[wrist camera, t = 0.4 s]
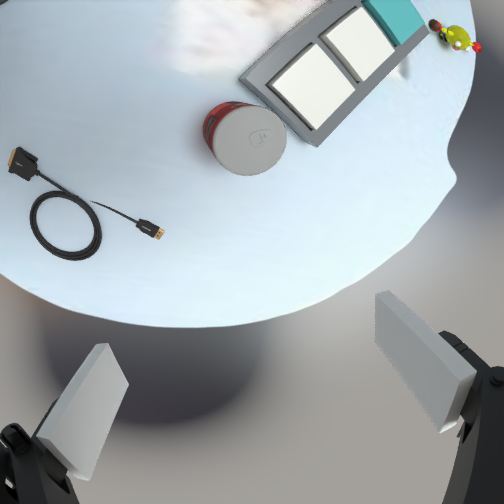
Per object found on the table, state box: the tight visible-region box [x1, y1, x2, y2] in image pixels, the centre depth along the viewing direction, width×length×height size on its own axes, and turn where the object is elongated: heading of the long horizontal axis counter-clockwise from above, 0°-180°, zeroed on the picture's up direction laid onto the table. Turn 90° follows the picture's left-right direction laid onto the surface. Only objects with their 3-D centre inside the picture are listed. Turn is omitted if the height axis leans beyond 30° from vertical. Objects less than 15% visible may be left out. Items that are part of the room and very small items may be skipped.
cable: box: [8, 147, 164, 261], centre depth 37 cm, size 14×28×2 cm, turn 50°
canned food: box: [203, 102, 287, 176], centre depth 32 cm, size 8×8×11 cm
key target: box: [361, 0, 425, 45], centre depth 27 cm, size 8×8×4 cm
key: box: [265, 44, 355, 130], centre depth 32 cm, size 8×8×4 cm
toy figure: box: [428, 19, 482, 53], centre depth 30 cm, size 18×6×7 cm, turn 94°
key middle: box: [317, 7, 395, 82], centre depth 30 cm, size 8×8×4 cm
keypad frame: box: [239, 0, 430, 147], centre depth 31 cm, size 14×32×4 cm, turn 137°
